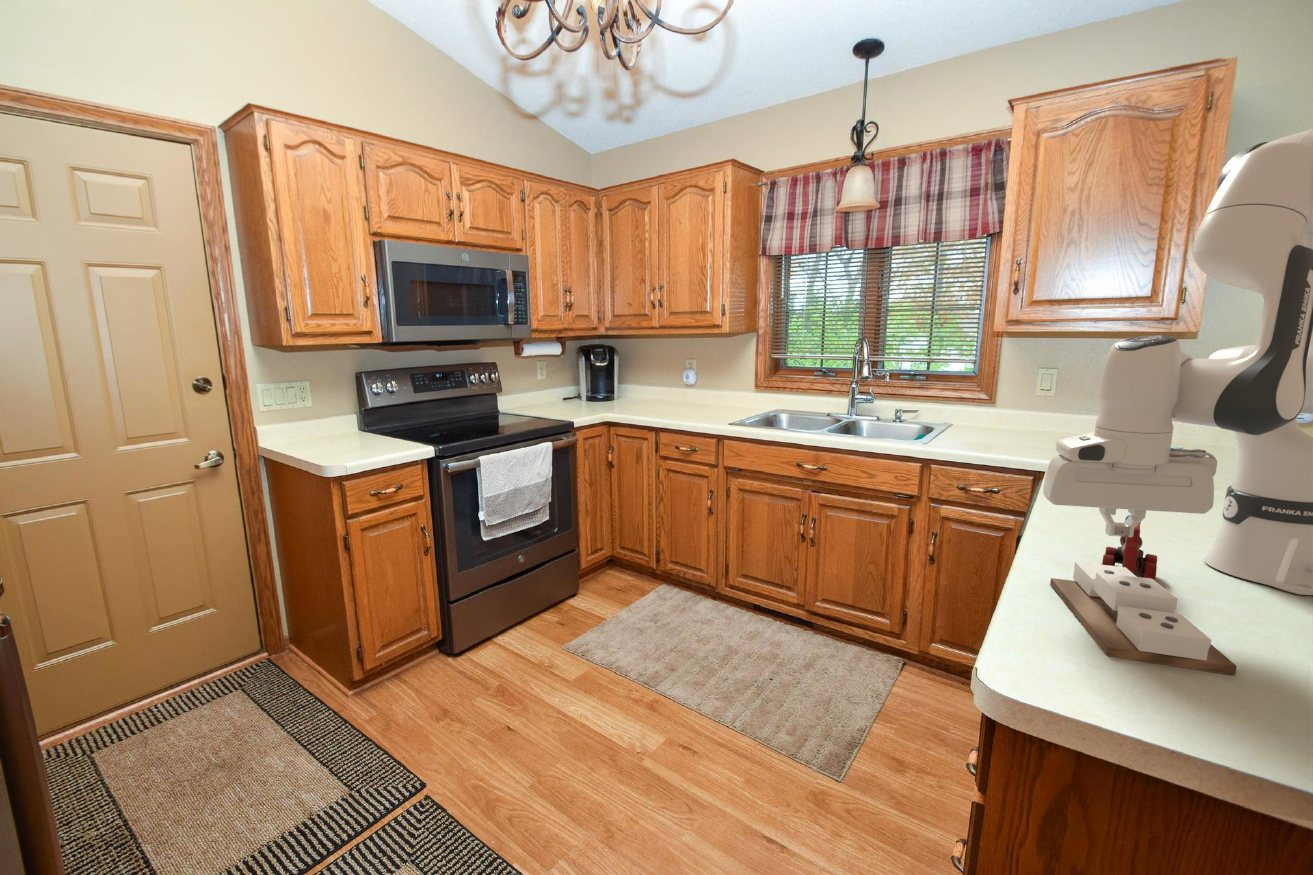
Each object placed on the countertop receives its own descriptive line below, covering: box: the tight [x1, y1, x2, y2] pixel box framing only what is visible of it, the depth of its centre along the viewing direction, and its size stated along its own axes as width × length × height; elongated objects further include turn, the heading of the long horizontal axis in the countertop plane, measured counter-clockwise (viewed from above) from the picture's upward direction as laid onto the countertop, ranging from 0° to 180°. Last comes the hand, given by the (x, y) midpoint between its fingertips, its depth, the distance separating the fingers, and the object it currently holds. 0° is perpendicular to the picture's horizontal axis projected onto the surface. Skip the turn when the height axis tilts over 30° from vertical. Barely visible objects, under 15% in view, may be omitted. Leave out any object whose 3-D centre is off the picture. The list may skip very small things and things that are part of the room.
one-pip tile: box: [1072, 561, 1137, 597], centre depth 88 cm, size 7×7×3 cm
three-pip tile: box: [1116, 606, 1212, 661], centre depth 73 cm, size 7×7×3 cm
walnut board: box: [1049, 577, 1238, 676], centre depth 80 cm, size 13×22×3 cm, turn 161°
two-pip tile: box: [1094, 572, 1178, 613], centre depth 80 cm, size 7×7×3 cm
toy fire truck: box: [1101, 514, 1158, 581], centre depth 95 cm, size 7×12×10 cm, turn 139°
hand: (1118, 535), depth 87 cm, fingers closed
